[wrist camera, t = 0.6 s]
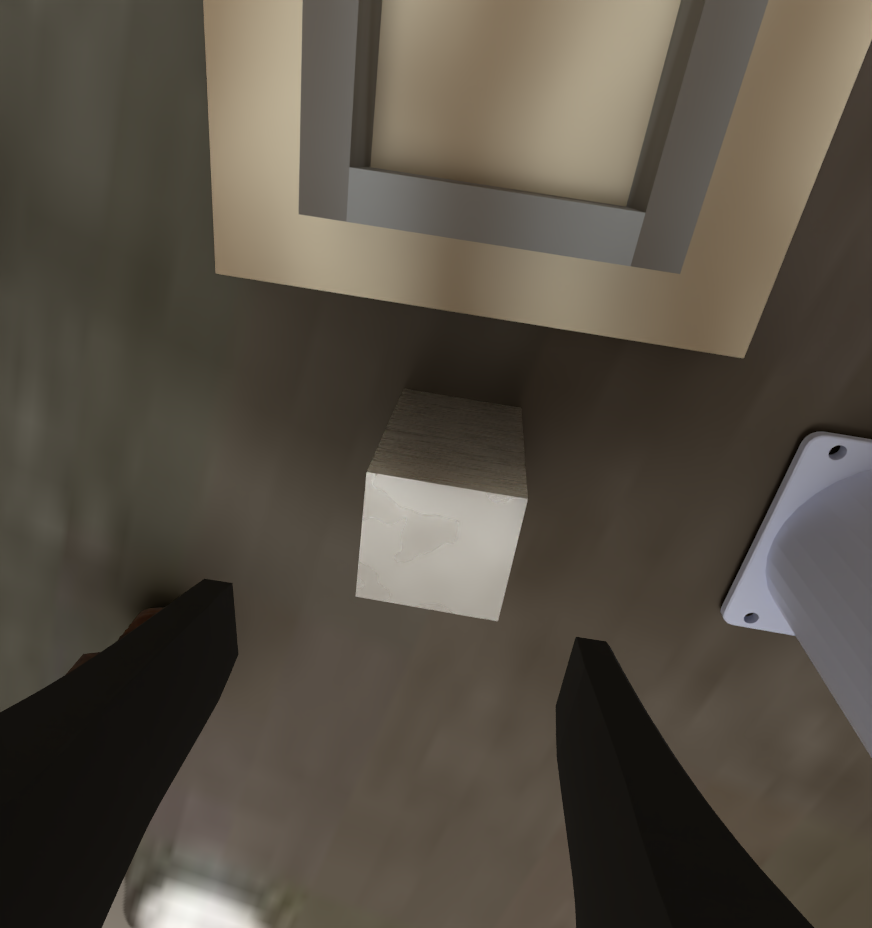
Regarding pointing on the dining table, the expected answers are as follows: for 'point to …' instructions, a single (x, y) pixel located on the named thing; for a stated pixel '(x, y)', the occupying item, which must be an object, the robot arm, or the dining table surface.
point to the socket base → (528, 153)
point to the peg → (444, 505)
